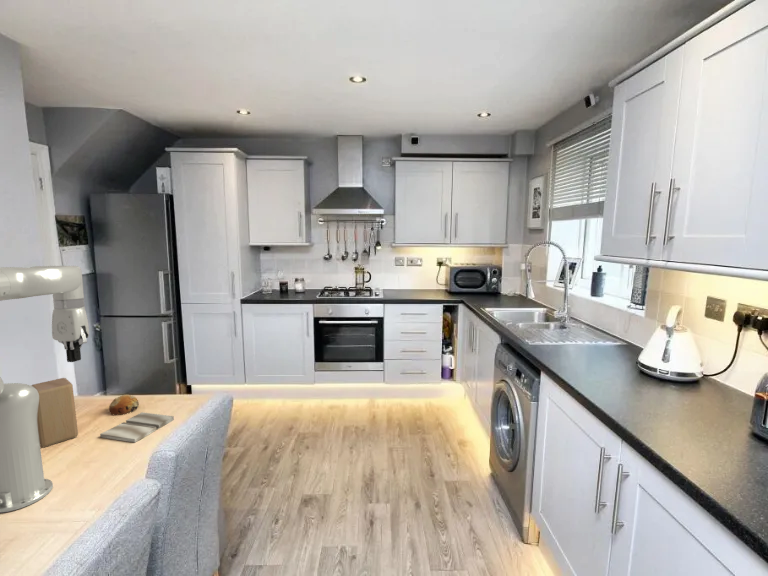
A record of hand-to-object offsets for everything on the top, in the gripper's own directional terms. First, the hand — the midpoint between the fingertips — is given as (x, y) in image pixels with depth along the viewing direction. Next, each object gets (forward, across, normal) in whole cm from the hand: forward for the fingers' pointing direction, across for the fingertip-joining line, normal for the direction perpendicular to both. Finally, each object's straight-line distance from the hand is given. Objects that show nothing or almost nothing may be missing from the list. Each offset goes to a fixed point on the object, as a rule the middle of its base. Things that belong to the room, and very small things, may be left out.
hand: (74, 360), depth 122 cm
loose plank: (+30, +5, +13) cm, 33 cm away
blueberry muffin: (+30, -14, +28) cm, 43 cm away
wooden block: (+30, -17, +4) cm, 35 cm away
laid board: (+30, +5, +22) cm, 37 cm away
